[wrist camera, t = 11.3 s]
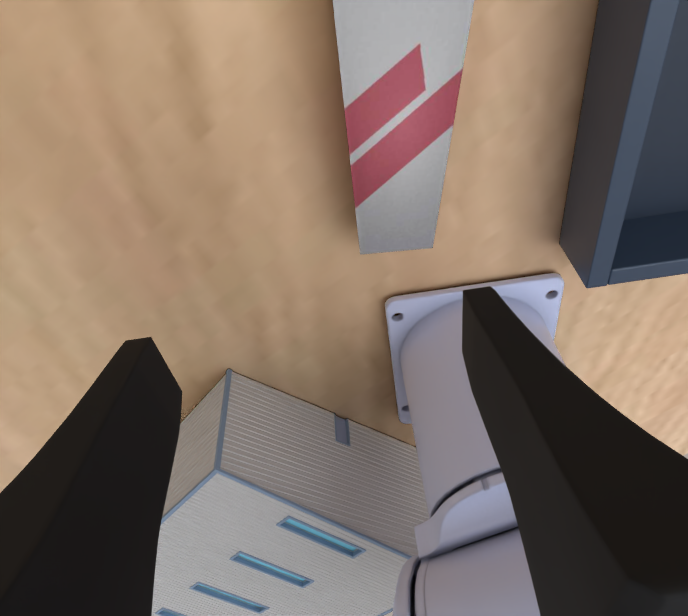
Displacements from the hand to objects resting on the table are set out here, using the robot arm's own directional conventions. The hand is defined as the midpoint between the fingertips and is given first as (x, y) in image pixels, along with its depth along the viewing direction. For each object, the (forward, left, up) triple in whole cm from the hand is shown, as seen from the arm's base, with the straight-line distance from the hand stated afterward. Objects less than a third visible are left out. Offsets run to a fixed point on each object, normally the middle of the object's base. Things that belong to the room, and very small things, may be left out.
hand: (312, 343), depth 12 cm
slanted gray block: (-26, +12, -10) cm, 30 cm away
